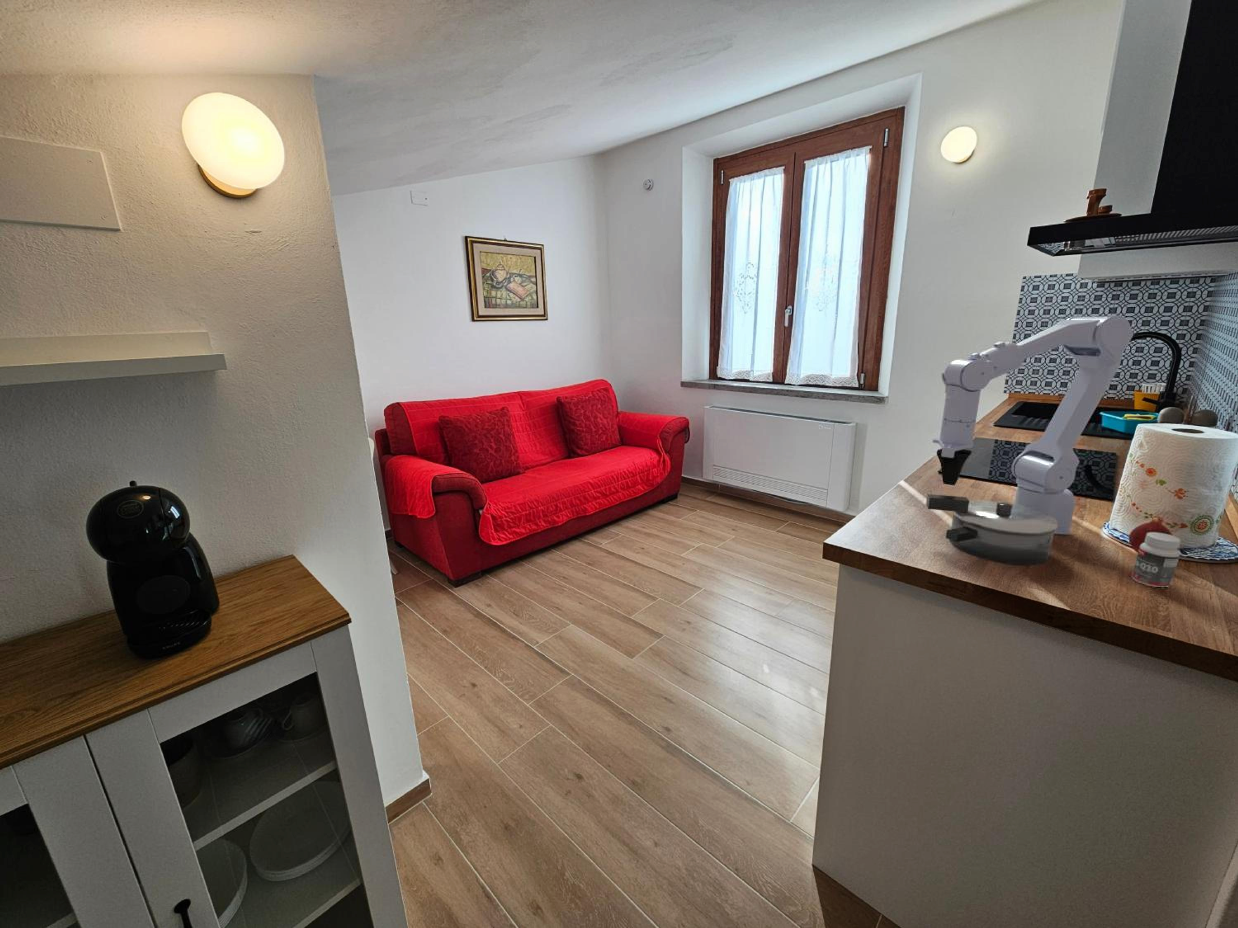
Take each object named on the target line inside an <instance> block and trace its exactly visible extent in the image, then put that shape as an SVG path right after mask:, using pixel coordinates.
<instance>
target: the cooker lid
mask: <svg viewBox="0 0 1238 928" xmlns="http://www.w3.org/2000/svg"><path fill="white" fill-rule="evenodd" d="M925 506H926V508H927V510H936V511H945V512H947V511H948V512H952V514H954V515H955V516H956V517H957V518H959V519H960V520H962V521H965V522H967V523H969V524H972V525H975V526H978V527H981V528H985V529H989V530H994V531H999V532H1005V533H1012V534H1022V535H1041V534H1048V533H1052V532H1054V531H1056V529H1057V526H1058V522H1057V520H1056V519H1055V518H1053V517H1052V516H1050V515H1048V514H1046V513H1044V512H1041V511H1038V510H1036V509H1032V508H1029V507H1025V506H1021V505H1016V504H1014V503H1011V502H1004V501H995V500H985V499H983V500H982V499H972V500H971V499H970V500H969V498H968V497H967V496H957V495H956V496H955V495H945V494H934V493H933V494H931V493H927V495H926V503H925Z"/></svg>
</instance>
